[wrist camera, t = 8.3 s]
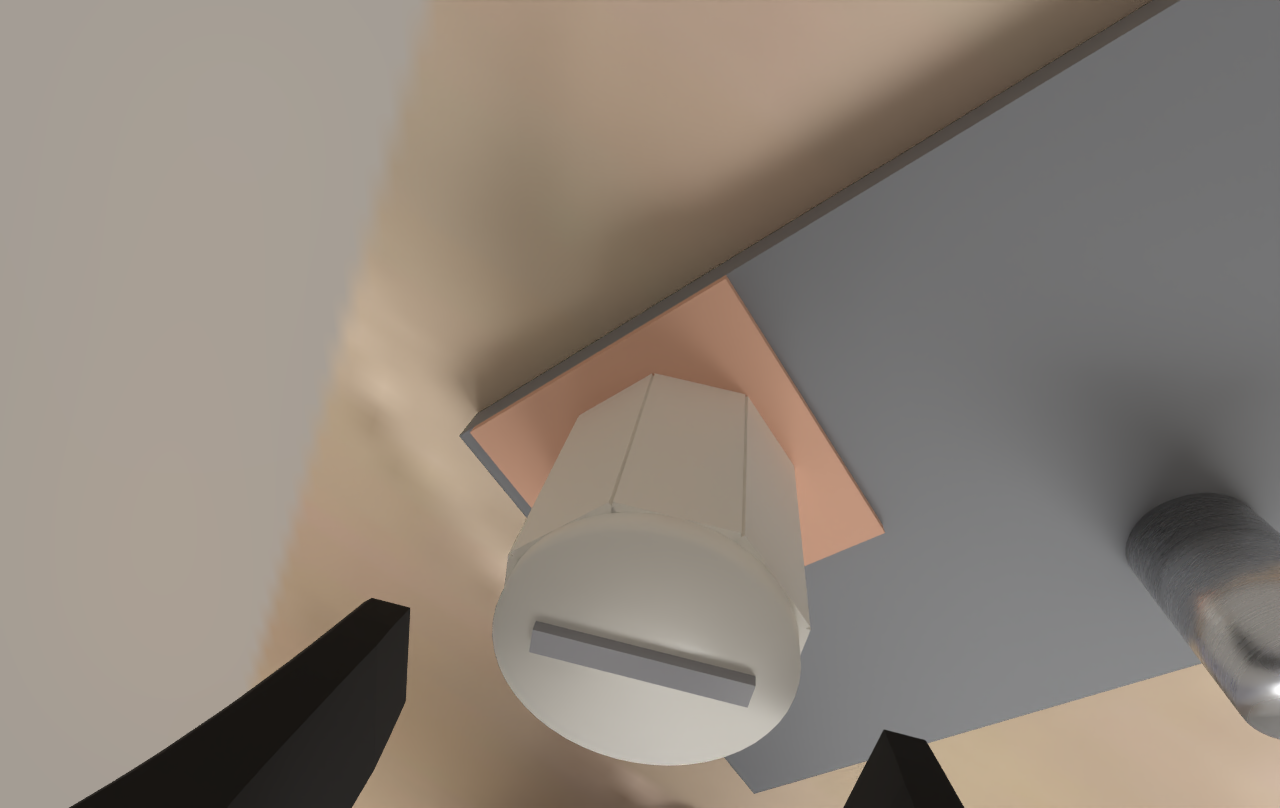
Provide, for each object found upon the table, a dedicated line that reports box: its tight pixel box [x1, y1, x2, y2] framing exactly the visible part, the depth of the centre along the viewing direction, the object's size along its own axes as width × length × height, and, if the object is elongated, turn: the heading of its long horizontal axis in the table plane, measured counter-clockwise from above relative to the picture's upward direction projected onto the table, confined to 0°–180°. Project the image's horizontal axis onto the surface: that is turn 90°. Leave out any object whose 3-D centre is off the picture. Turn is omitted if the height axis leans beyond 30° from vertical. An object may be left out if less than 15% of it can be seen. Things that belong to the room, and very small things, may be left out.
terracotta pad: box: [470, 275, 885, 566], centre depth 16 cm, size 7×7×1 cm
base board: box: [460, 0, 1280, 794], centre depth 16 cm, size 18×14×1 cm
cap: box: [492, 373, 811, 766], centre depth 14 cm, size 5×5×6 cm
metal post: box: [1126, 493, 1280, 739], centre depth 13 cm, size 3×3×4 cm
